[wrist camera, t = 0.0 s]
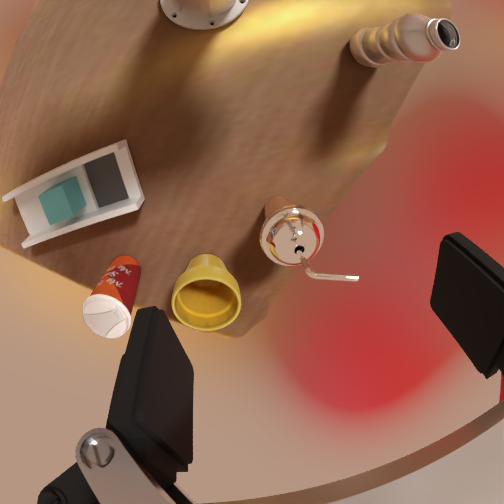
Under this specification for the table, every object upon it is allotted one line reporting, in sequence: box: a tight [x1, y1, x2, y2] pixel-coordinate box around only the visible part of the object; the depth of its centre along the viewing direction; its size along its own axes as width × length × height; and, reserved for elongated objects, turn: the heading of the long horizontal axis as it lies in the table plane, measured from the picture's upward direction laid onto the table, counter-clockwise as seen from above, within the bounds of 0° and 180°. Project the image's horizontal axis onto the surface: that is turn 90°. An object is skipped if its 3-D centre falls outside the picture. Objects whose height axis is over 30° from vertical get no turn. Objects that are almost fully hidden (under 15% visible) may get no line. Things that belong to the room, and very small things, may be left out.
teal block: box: [38, 176, 86, 225], centre depth 38 cm, size 5×5×5 cm
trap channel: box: [2, 139, 145, 248], centre depth 39 cm, size 10×24×4 cm, turn 102°
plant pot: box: [171, 254, 241, 331], centre depth 47 cm, size 10×10×10 cm
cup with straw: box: [260, 195, 358, 281], centre depth 38 cm, size 8×9×20 cm
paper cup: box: [82, 255, 141, 338], centre depth 43 cm, size 8×8×14 cm
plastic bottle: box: [350, 13, 460, 68], centre depth 26 cm, size 6×7×20 cm
